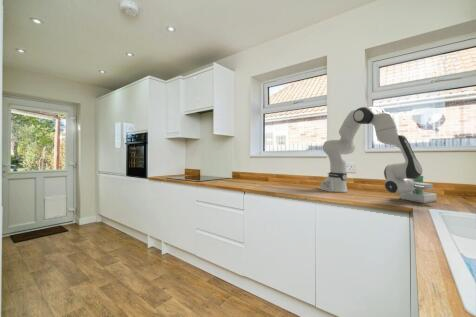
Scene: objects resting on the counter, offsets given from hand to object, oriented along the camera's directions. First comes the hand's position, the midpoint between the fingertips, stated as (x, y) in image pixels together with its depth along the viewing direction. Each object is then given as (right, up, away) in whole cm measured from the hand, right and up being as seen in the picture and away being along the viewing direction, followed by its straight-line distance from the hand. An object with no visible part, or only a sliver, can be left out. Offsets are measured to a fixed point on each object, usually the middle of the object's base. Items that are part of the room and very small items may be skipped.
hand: (418, 184), depth 146 cm
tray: (-1, -10, 0) cm, 10 cm away
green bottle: (-1, -8, 0) cm, 8 cm away
